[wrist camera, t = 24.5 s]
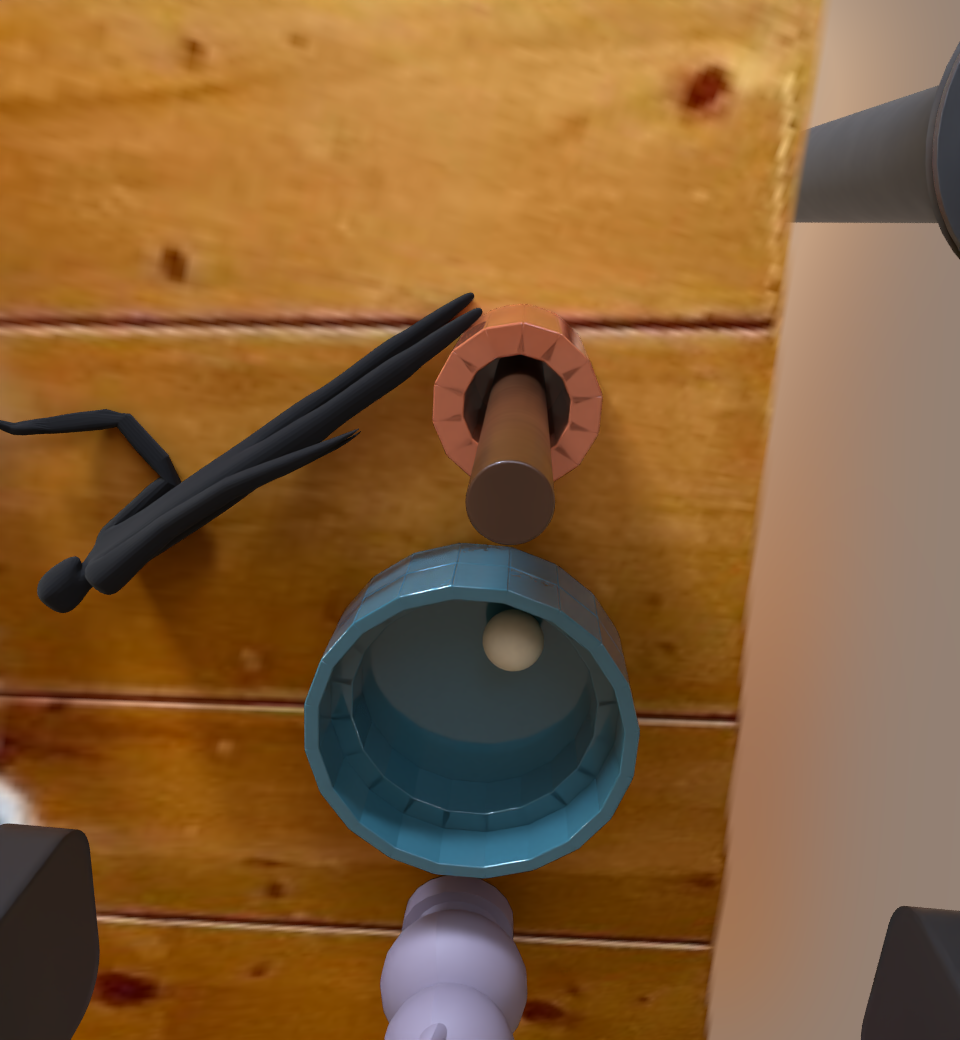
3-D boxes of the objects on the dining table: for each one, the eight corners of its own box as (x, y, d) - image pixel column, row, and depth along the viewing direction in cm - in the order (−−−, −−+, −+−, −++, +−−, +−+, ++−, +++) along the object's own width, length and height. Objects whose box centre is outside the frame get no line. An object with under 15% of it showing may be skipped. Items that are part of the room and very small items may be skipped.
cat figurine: (520, 984, 53) (517, 1193, 41) (389, 970, 53) (351, 1174, 42) (535, 868, 50) (536, 1058, 39) (397, 853, 50) (359, 1038, 39)
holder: (595, 307, 40) (610, 328, 32) (581, 447, 42) (592, 497, 34) (454, 298, 40) (436, 316, 33) (447, 438, 42) (429, 485, 35)
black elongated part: (385, 165, 32) (-116, 528, 36) (507, 352, 37) (50, 655, 41) (371, 133, 39) (-48, 441, 43) (476, 294, 43) (88, 558, 47)
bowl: (641, 551, 44) (658, 601, 38) (607, 813, 49) (618, 891, 43) (332, 528, 44) (303, 573, 38) (330, 788, 49) (304, 863, 43)
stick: (545, 349, 40) (558, 463, 21) (542, 397, 41) (551, 548, 22) (497, 346, 40) (467, 457, 21) (494, 394, 41) (463, 542, 22)
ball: (558, 632, 42) (540, 686, 43) (542, 603, 44) (526, 655, 45) (498, 623, 41) (481, 679, 42) (486, 594, 44) (471, 647, 45)
